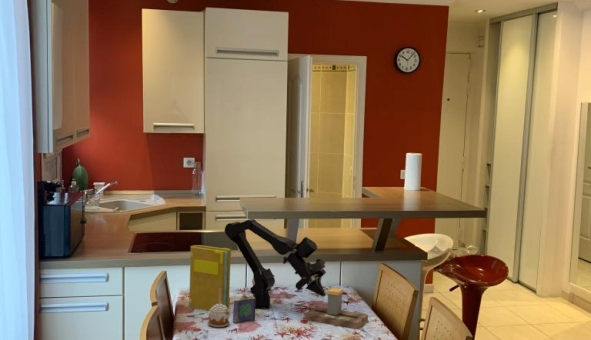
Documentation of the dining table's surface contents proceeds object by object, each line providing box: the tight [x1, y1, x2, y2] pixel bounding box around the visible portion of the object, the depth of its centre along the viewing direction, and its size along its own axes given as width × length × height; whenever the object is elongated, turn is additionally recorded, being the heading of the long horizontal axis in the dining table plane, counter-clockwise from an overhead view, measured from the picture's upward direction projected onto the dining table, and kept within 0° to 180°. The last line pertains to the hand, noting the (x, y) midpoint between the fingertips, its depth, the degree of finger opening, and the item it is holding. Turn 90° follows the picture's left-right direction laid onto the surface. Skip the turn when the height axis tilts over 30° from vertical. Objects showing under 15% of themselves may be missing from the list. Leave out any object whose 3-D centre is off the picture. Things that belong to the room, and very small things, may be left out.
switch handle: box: [326, 287, 344, 315], centre depth 229 cm, size 5×6×11 cm
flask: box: [232, 293, 256, 324], centre depth 223 cm, size 9×3×11 cm, turn 121°
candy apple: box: [207, 286, 231, 328], centre depth 218 cm, size 8×8×15 cm
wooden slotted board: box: [304, 305, 369, 330], centre depth 229 cm, size 22×12×3 cm, turn 64°
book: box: [188, 244, 232, 312], centre depth 238 cm, size 17×7×25 cm, turn 65°
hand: (324, 295), depth 231 cm, fingers closed
